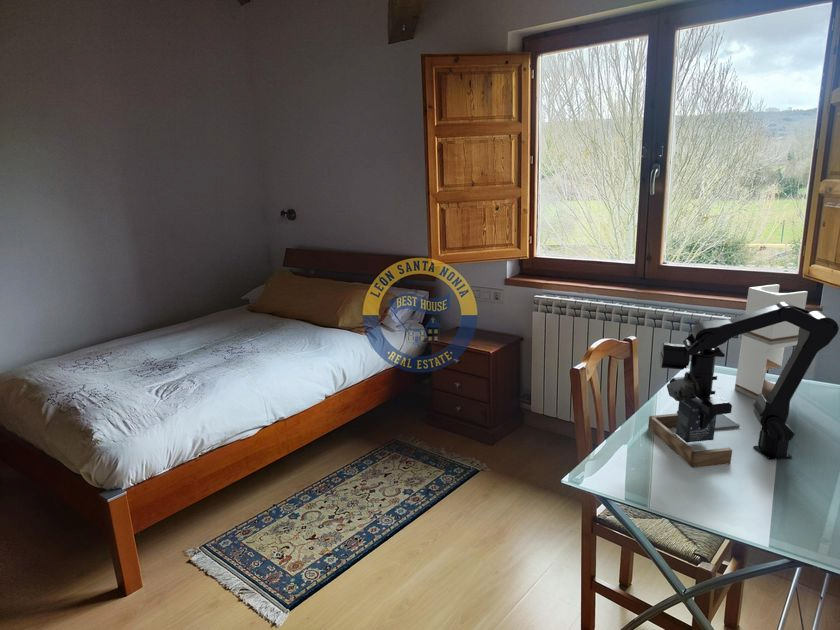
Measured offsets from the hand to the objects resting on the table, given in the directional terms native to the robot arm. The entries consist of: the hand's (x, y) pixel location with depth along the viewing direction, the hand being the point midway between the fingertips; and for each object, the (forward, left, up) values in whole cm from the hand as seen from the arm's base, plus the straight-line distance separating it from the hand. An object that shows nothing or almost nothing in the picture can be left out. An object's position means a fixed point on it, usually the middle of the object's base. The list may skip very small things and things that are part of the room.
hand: (695, 423), depth 152 cm
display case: (+26, -41, -7) cm, 49 cm away
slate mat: (+12, -12, -6) cm, 18 cm away
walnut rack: (0, +2, -6) cm, 7 cm away
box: (0, 0, -4) cm, 4 cm away
